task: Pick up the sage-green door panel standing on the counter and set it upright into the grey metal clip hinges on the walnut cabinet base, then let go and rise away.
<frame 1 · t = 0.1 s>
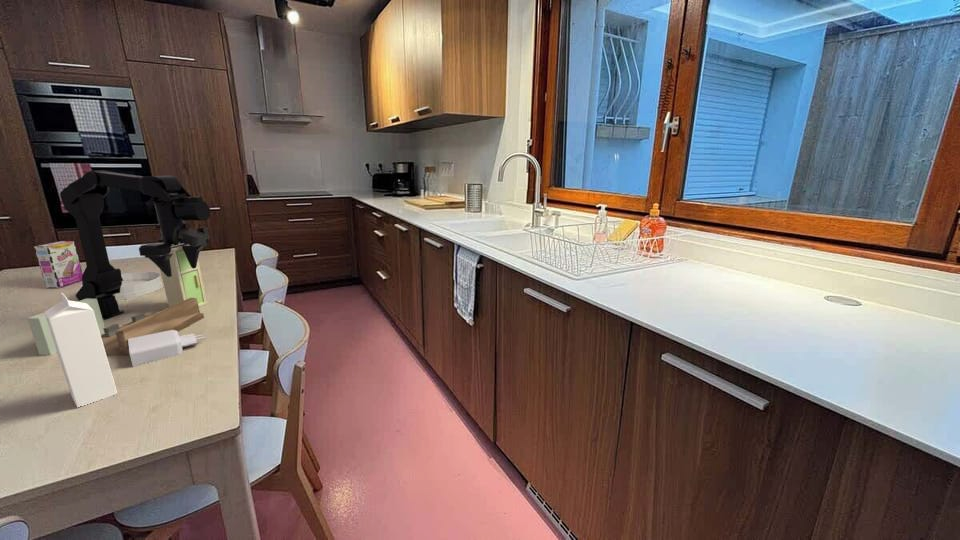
hand: (182, 272, 115), 15 cm above the table, tool pointing down, fingers open, 9 cm apart
candy bar box: (66, 284, 152), on the table
cabinet base: (141, 333, 108), on the table
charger: (171, 353, 99), on the table, touching cabinet base
milk: (95, 396, 79), on the table
door panel: (75, 342, 103), on the table
dish: (125, 293, 143), on the table
toy refrigerator: (189, 308, 127), on the table
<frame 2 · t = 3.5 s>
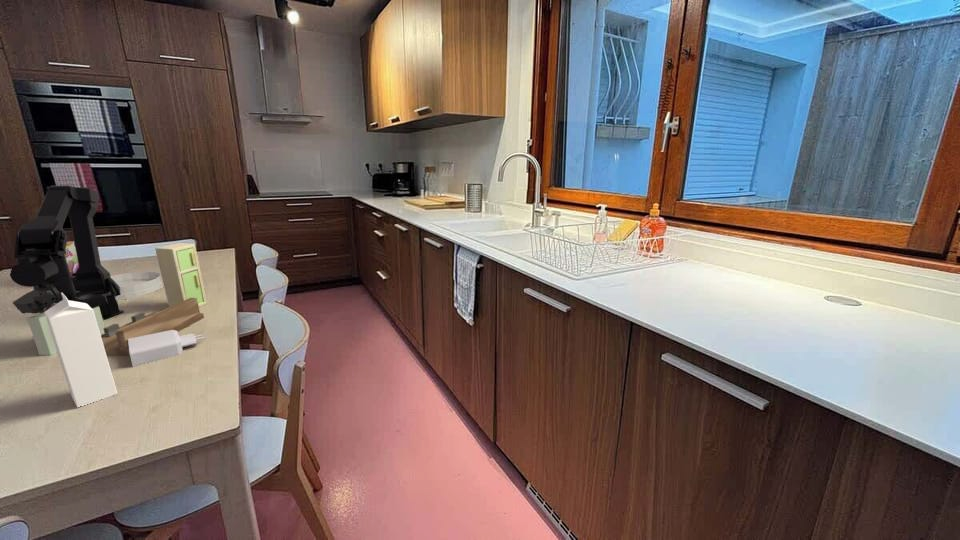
hand: (71, 332, 102), 3 cm above the table, tool pointing down, fingers closed on door panel, 3 cm apart
door panel: (75, 342, 103), on the table, touching gripper
everything else where it was.
when the fingers open (5 cm above the table, at t = 7.7 s): door panel stays where it is, resting on cabinet base.
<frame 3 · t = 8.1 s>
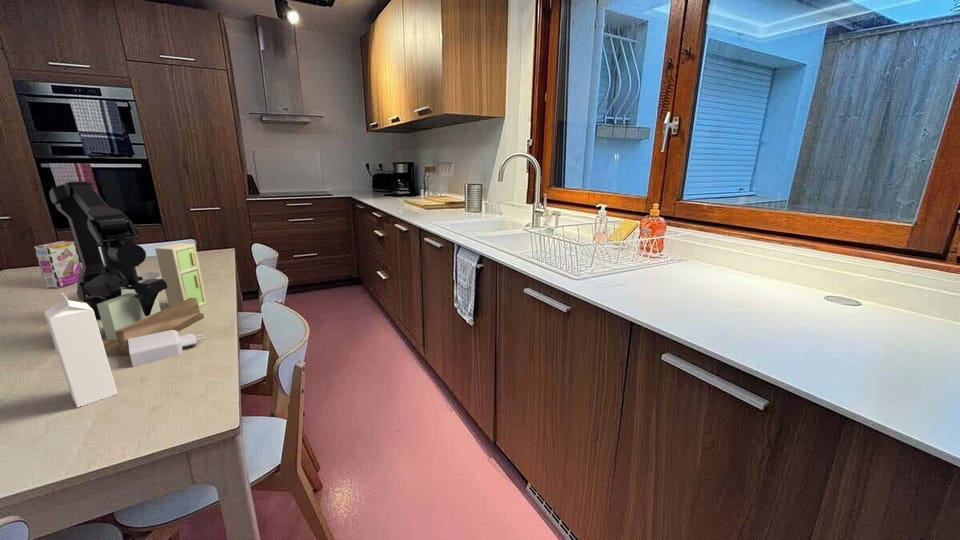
hand: (133, 315, 107), 5 cm above the table, tool pointing down, fingers open, 8 cm apart
door panel: (136, 328, 108), point 1 cm above the table, touching cabinet base
everything else where it was.
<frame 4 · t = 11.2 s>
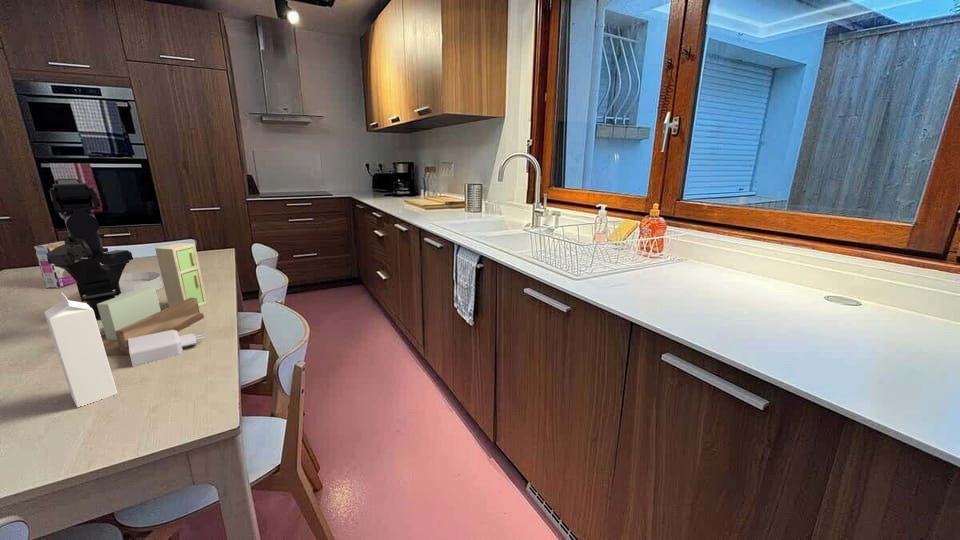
hand: (99, 286, 107), 13 cm above the table, tool pointing down, fingers open, 9 cm apart
nothing on the table moved.
at the end: door panel 0.1 cm from the target spot on the cabinet base, point 1.5 cm above the cabinet base's base; door panel tilted 0°; the gripper is holding nothing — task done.
